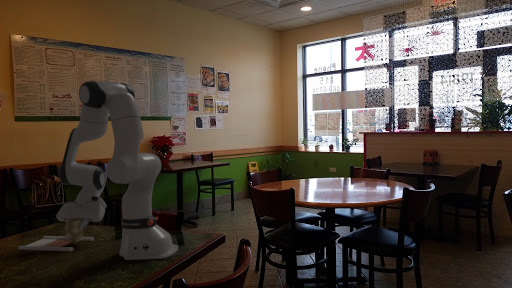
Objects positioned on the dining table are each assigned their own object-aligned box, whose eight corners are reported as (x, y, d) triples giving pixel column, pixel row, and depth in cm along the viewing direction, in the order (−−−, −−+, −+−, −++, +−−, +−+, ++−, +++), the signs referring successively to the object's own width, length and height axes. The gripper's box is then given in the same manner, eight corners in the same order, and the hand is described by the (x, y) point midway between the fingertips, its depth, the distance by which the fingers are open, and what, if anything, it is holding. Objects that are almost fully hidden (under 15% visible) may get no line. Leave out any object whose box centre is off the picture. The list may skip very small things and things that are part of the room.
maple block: (82, 238, 155) (82, 219, 155) (76, 242, 151) (75, 222, 150) (73, 238, 156) (72, 219, 155) (66, 242, 151) (65, 222, 151)
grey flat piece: (93, 239, 160) (93, 237, 160) (71, 251, 145) (71, 248, 145) (44, 238, 164) (44, 236, 164) (18, 249, 149) (18, 246, 149)
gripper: (61, 198, 161) (47, 225, 152) (104, 197, 158) (91, 225, 149) (68, 205, 166) (55, 232, 156) (110, 205, 163) (98, 233, 153)
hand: (73, 229), depth 152 cm, fingers closed on maple block, 4 cm apart
